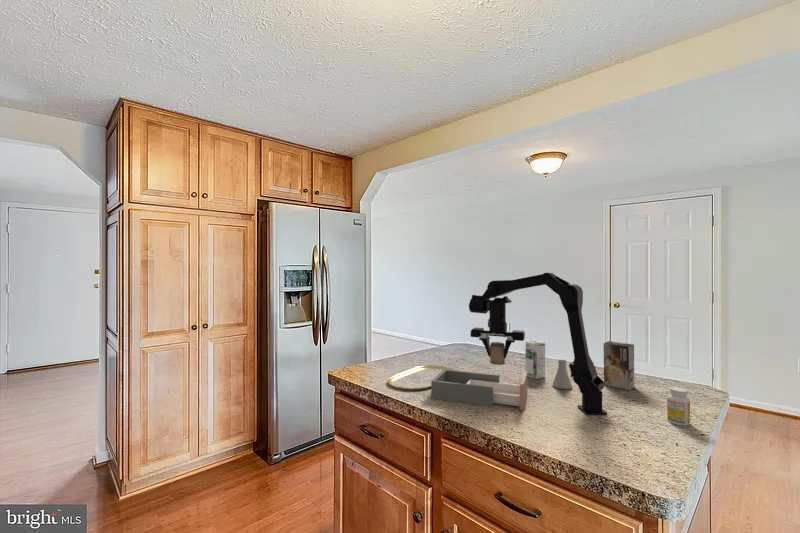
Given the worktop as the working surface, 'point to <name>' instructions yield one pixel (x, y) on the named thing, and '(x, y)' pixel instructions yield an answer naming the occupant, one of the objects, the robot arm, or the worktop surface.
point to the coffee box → (619, 365)
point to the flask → (562, 377)
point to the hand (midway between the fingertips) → (497, 357)
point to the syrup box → (535, 359)
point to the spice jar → (497, 353)
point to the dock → (463, 387)
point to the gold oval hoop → (413, 372)
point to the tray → (506, 391)
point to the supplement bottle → (678, 407)
